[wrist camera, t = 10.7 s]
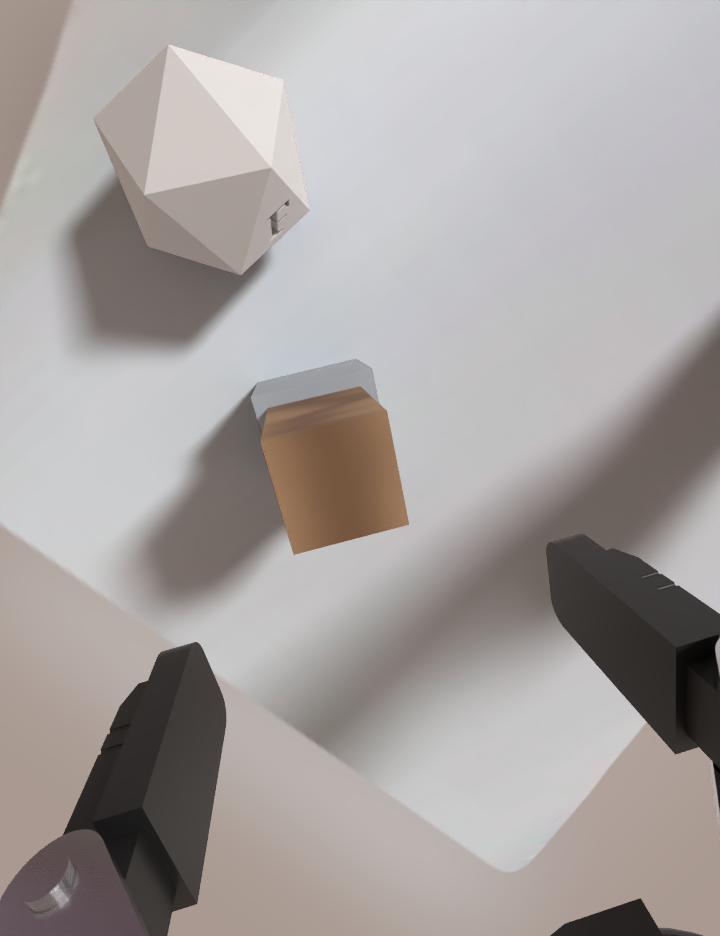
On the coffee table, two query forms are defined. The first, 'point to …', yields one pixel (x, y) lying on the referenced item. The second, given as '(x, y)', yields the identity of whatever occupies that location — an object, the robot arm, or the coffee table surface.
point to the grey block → (311, 385)
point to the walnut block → (333, 468)
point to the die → (206, 158)
